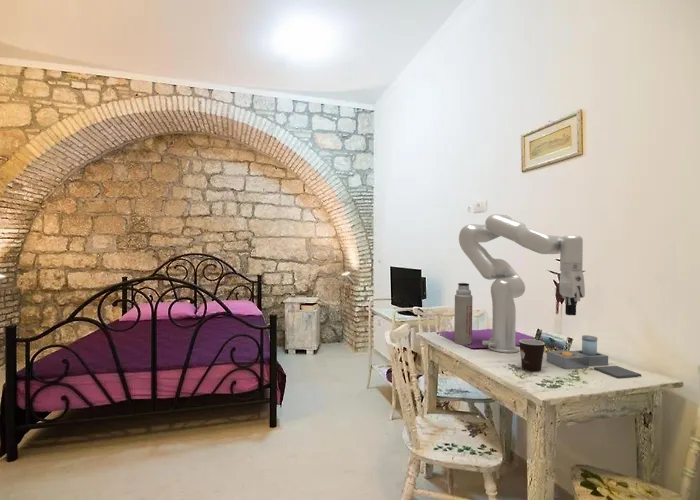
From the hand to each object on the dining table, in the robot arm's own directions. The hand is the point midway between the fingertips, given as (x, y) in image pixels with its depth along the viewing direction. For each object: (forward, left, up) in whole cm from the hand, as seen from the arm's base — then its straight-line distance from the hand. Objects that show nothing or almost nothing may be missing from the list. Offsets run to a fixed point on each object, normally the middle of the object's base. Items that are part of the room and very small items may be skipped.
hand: (570, 314), depth 150 cm
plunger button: (-1, 0, -18) cm, 18 cm away
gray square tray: (+10, +1, -19) cm, 21 cm away
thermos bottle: (-25, +38, -19) cm, 49 cm away
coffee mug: (-18, -1, -19) cm, 26 cm away
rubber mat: (+9, -12, -19) cm, 24 cm away
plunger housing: (-1, 0, -19) cm, 19 cm away
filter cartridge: (+10, +1, -19) cm, 21 cm away
